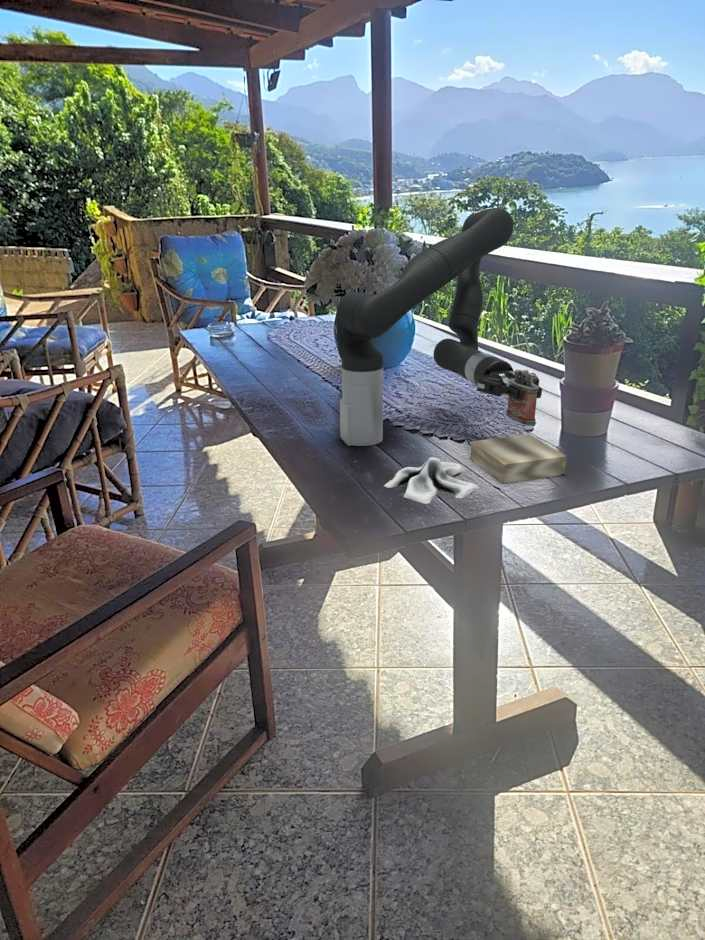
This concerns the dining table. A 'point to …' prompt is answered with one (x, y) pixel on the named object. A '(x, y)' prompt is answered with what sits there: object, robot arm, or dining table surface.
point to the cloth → (432, 480)
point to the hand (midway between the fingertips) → (530, 394)
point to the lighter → (523, 408)
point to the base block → (517, 458)
